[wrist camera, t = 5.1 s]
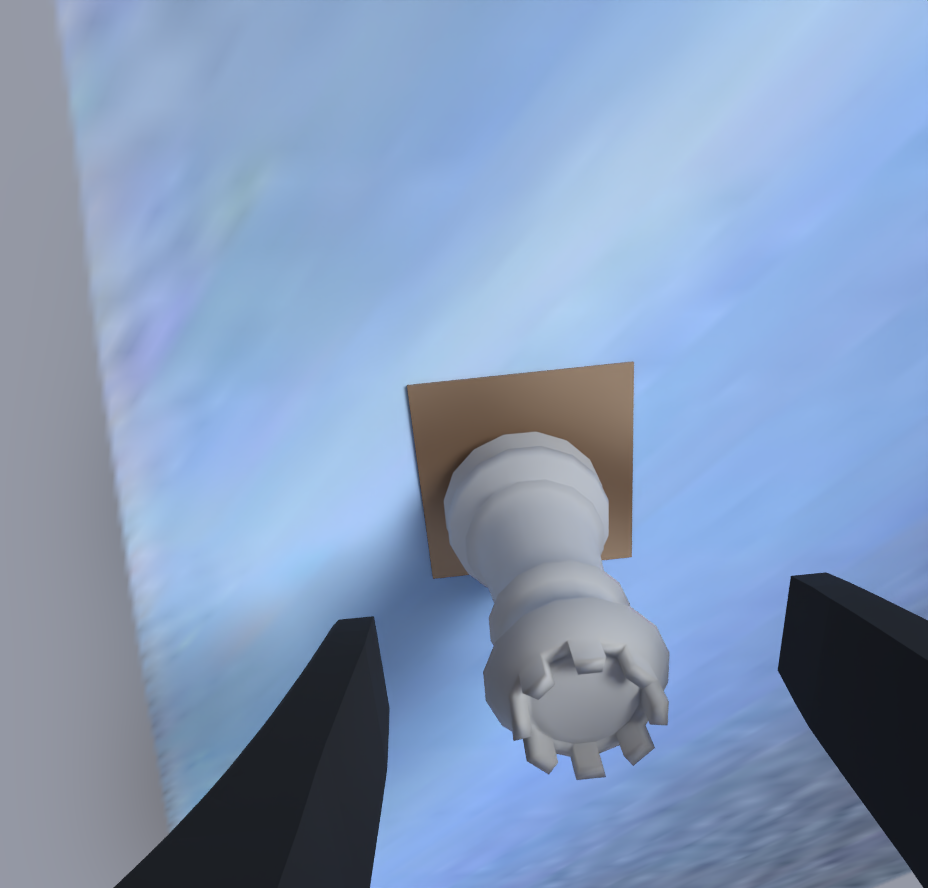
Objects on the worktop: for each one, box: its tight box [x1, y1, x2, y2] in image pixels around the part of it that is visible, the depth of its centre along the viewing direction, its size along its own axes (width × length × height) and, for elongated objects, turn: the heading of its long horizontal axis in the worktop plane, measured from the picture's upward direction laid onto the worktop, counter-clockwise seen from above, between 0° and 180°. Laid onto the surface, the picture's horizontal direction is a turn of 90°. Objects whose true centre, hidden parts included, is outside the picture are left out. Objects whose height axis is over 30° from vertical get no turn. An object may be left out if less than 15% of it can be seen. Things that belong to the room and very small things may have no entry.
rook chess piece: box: [444, 432, 669, 780], centre depth 13 cm, size 4×4×8 cm
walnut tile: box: [407, 362, 634, 579], centre depth 17 cm, size 6×6×1 cm
